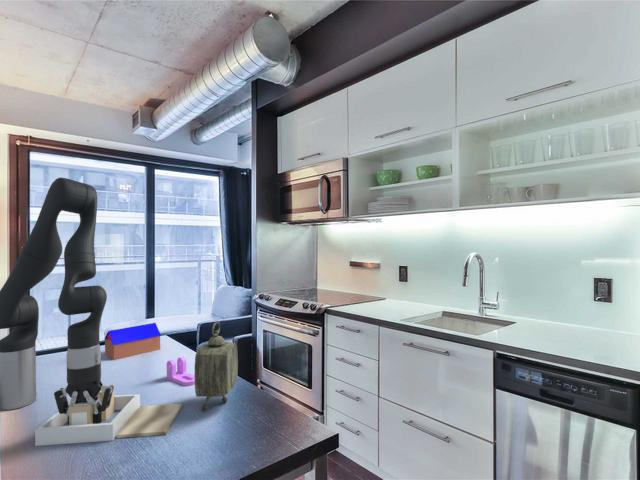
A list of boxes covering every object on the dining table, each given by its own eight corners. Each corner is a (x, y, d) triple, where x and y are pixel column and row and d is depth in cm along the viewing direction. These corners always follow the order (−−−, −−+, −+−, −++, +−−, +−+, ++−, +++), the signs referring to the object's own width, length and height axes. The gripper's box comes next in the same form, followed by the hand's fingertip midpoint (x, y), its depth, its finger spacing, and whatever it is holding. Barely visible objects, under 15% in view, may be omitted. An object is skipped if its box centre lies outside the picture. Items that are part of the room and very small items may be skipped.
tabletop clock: (211, 392, 119) (210, 316, 119) (238, 392, 119) (237, 316, 119) (194, 413, 105) (193, 327, 105) (226, 414, 104) (224, 327, 104)
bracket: (166, 379, 131) (166, 359, 131) (180, 374, 136) (180, 355, 136) (187, 387, 124) (187, 367, 124) (201, 382, 128) (201, 362, 128)
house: (104, 355, 160) (103, 328, 160) (150, 344, 175) (150, 320, 175) (113, 361, 152) (113, 333, 152) (161, 349, 167) (160, 324, 167)
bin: (35, 445, 89) (35, 429, 89) (75, 411, 107) (75, 397, 107) (112, 440, 91) (112, 424, 91) (139, 407, 109) (139, 394, 109)
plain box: (86, 421, 101) (86, 393, 101) (95, 413, 106) (95, 385, 106) (106, 420, 101) (105, 392, 101) (114, 412, 106) (113, 384, 106)
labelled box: (68, 439, 92) (68, 406, 92) (79, 428, 97) (79, 397, 97) (89, 437, 93) (89, 405, 93) (99, 427, 98) (99, 396, 98)
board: (116, 438, 92) (116, 434, 92) (140, 408, 108) (140, 406, 108) (165, 434, 94) (165, 431, 94) (182, 406, 110) (182, 403, 110)
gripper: (45, 369, 90) (46, 437, 90) (106, 366, 92) (107, 433, 92) (63, 359, 98) (63, 422, 98) (119, 356, 100) (120, 418, 100)
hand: (85, 427), depth 95 cm, fingers closed on labelled box, 5 cm apart
